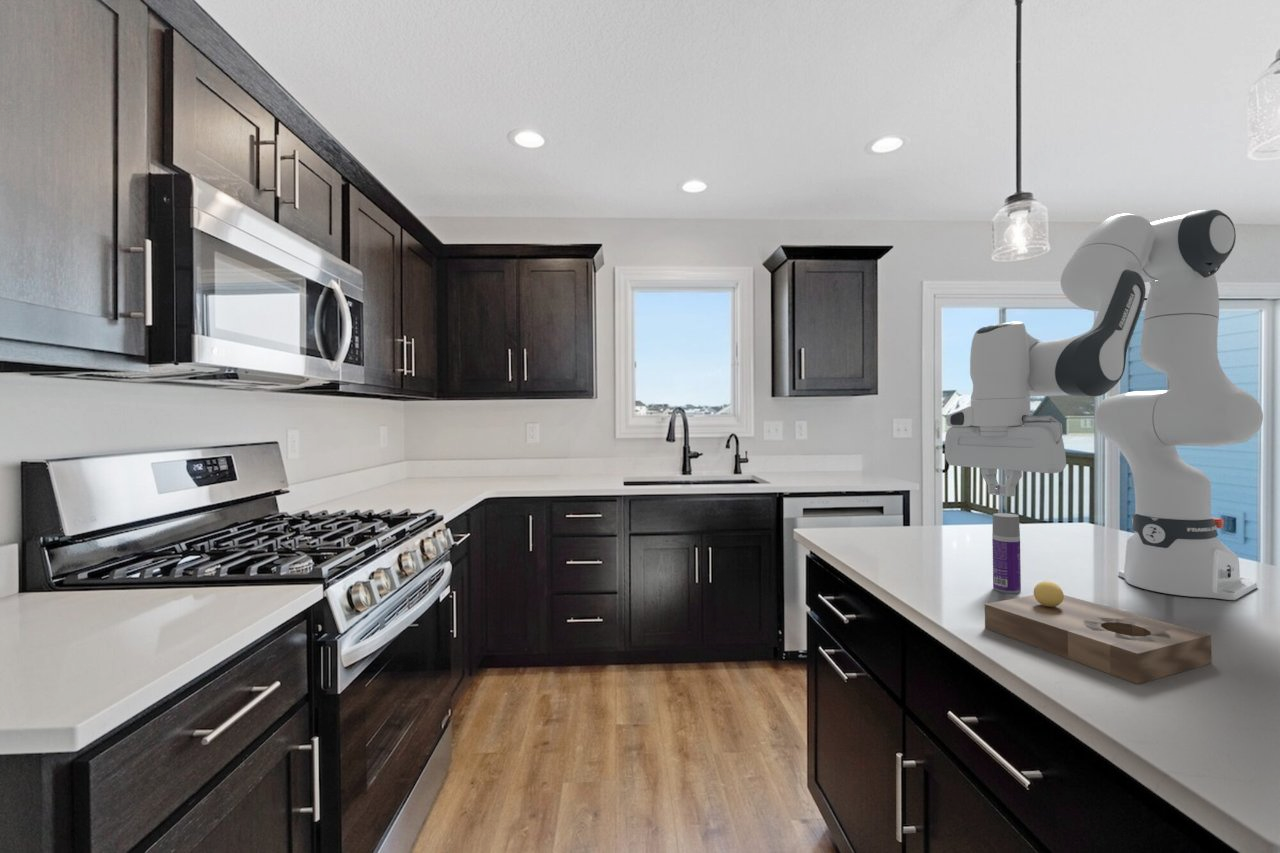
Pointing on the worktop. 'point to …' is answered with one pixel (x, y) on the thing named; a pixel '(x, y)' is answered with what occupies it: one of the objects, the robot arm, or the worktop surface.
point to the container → (1006, 553)
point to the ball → (1048, 594)
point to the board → (1102, 637)
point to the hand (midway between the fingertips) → (1001, 495)
